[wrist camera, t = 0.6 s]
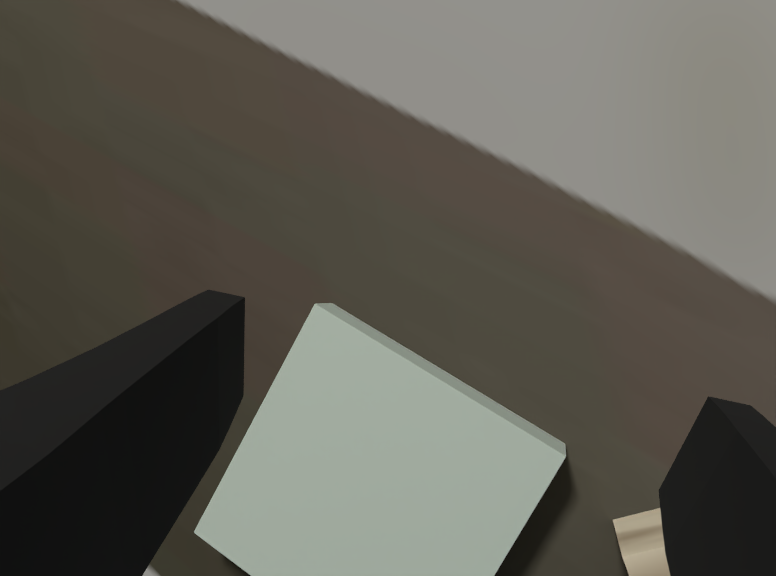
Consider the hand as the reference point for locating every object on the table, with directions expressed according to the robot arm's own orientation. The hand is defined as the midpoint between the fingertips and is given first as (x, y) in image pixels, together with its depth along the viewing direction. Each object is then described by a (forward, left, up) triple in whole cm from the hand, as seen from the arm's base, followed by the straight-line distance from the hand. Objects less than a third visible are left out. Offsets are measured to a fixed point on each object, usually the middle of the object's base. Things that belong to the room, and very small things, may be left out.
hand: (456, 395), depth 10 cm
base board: (-5, +10, -22) cm, 25 cm away
